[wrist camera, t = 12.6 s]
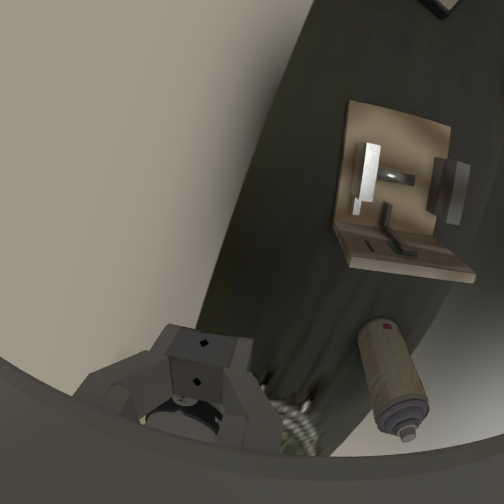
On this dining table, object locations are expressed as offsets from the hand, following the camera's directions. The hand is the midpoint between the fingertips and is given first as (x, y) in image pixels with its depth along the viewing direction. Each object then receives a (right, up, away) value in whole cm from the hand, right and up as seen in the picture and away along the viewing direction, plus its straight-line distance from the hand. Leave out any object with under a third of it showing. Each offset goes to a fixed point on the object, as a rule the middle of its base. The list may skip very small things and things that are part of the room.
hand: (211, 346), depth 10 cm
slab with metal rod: (+16, +12, +22) cm, 30 cm away
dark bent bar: (+18, +8, +24) cm, 30 cm away
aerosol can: (+21, -10, +32) cm, 40 cm away
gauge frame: (+19, +13, +24) cm, 33 cm away
